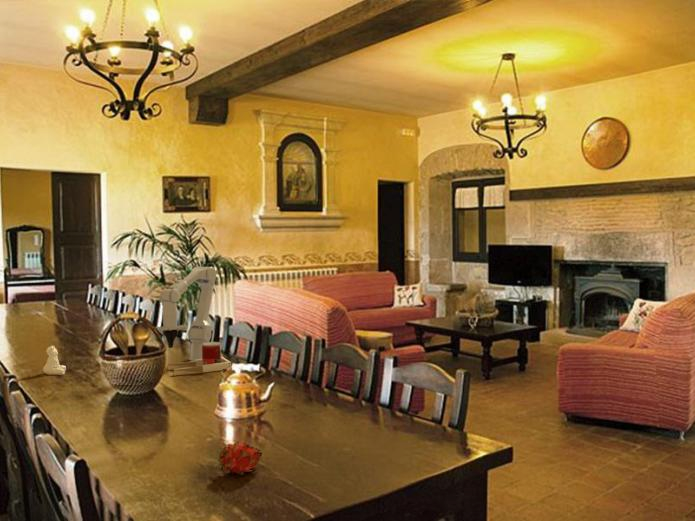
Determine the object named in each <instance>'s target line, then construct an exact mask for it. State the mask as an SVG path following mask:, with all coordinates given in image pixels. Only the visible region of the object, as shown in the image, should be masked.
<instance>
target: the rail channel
mask: <svg viewBox="0 0 695 521" xmlns="http://www.w3.org/2000/svg"><path fill="white" fill-rule="evenodd" d="M167 370H168V371H173V376H175V377H177V376H182V375H183V376H184V375H192V374H200V373H201V374H202V373H204V372H203V366H197V367H196V361H191V360H189V361H182V362H171V363H167ZM176 375H177V376H176Z"/></svg>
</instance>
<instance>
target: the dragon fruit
mask: <svg viewBox="0 0 695 521" xmlns="http://www.w3.org/2000/svg"><path fill="white" fill-rule="evenodd" d="M262 455H263V452H261V450H260V448H259V447H256V446H253V445H251V446H250V444H249V442H248V441H244V442H243V443H241V442H240V441H237V442H235V443H233V444H231V443H227V444H226V446H224V447H223V448H222V451H220V453H219V459H218V462H219V465H220V466H221V469H220V470H221V471H222V472H229V474H230V473H232V474H231V475H234V474H235V473H236V474H237V475H240V476H243V475H244V473H247V472H248V473H251V472H250V470H252V472H254V471H253V470H256V469H257V468H256V466H257V465H258V463H259V462H260V460H261V459H262V457H263V456H262Z"/></svg>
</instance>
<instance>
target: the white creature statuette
mask: <svg viewBox="0 0 695 521" xmlns="http://www.w3.org/2000/svg"><path fill="white" fill-rule="evenodd" d="M45 352H46V354H47V355H48V357H47V359H46V360H47V361H46V363H45V365H44V366H43V369H42V370H43V372H44V373H45V374H46V375H54V376H55V375H56V376H57V375H58V376H61V375H65V374H66V370H67V367H66V365H63V364H62V365H61V364H60V361H59V358H58V355H59V353H58V349H57V348H56V347H55V345H50V346H48V347H47V348H46V350H45Z"/></svg>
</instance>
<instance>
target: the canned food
mask: <svg viewBox="0 0 695 521" xmlns="http://www.w3.org/2000/svg"><path fill="white" fill-rule="evenodd" d="M221 348H222V347H221V342H218V341H209V342H206V343H203V344H202V364H203V365H207V364H216V363H221V357H222V356H221Z"/></svg>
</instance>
